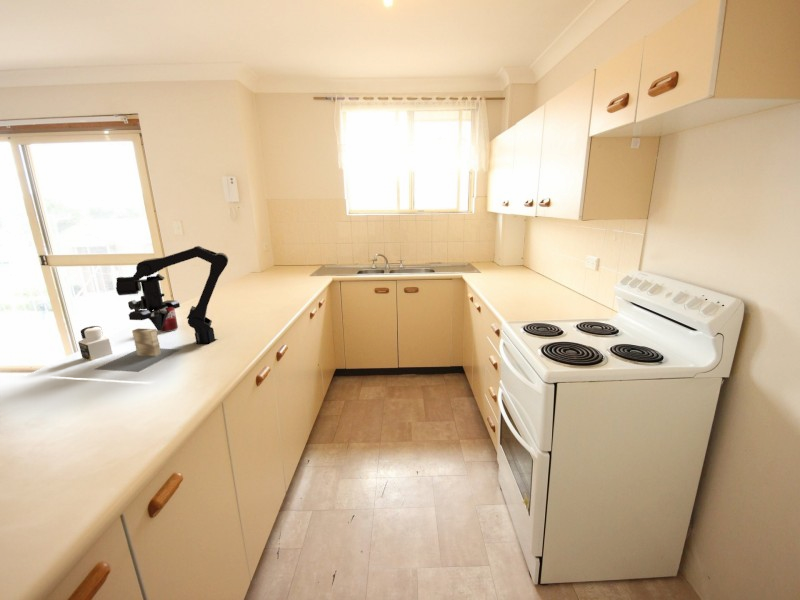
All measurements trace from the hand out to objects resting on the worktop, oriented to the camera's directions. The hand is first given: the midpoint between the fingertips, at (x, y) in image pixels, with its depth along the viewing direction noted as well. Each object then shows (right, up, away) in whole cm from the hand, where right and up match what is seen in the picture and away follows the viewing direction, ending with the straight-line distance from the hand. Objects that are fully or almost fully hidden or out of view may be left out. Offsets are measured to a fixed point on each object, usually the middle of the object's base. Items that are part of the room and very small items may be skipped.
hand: (159, 330), depth 141 cm
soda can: (-13, -2, +26) cm, 29 cm away
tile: (-1, -9, -5) cm, 10 cm away
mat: (-1, -10, -8) cm, 13 cm away
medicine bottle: (-21, -10, -4) cm, 24 cm away
